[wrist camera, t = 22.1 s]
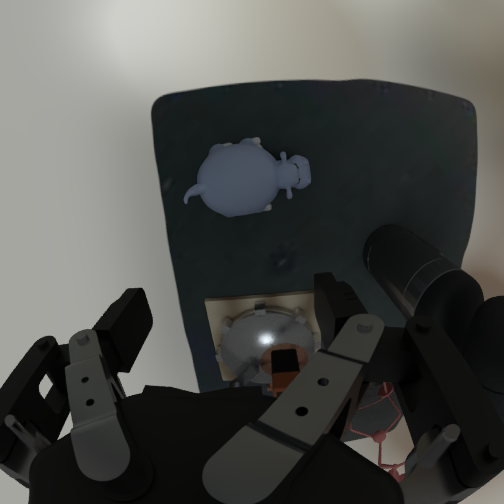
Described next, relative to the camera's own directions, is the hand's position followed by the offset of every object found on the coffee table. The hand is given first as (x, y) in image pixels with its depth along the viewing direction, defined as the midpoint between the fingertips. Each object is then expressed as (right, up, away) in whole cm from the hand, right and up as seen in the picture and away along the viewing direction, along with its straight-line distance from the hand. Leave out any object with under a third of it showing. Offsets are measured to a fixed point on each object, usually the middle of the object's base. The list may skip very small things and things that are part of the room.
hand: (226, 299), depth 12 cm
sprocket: (+3, -15, +34) cm, 37 cm away
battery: (+7, -17, +32) cm, 37 cm away
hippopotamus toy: (+1, +13, +25) cm, 28 cm away
